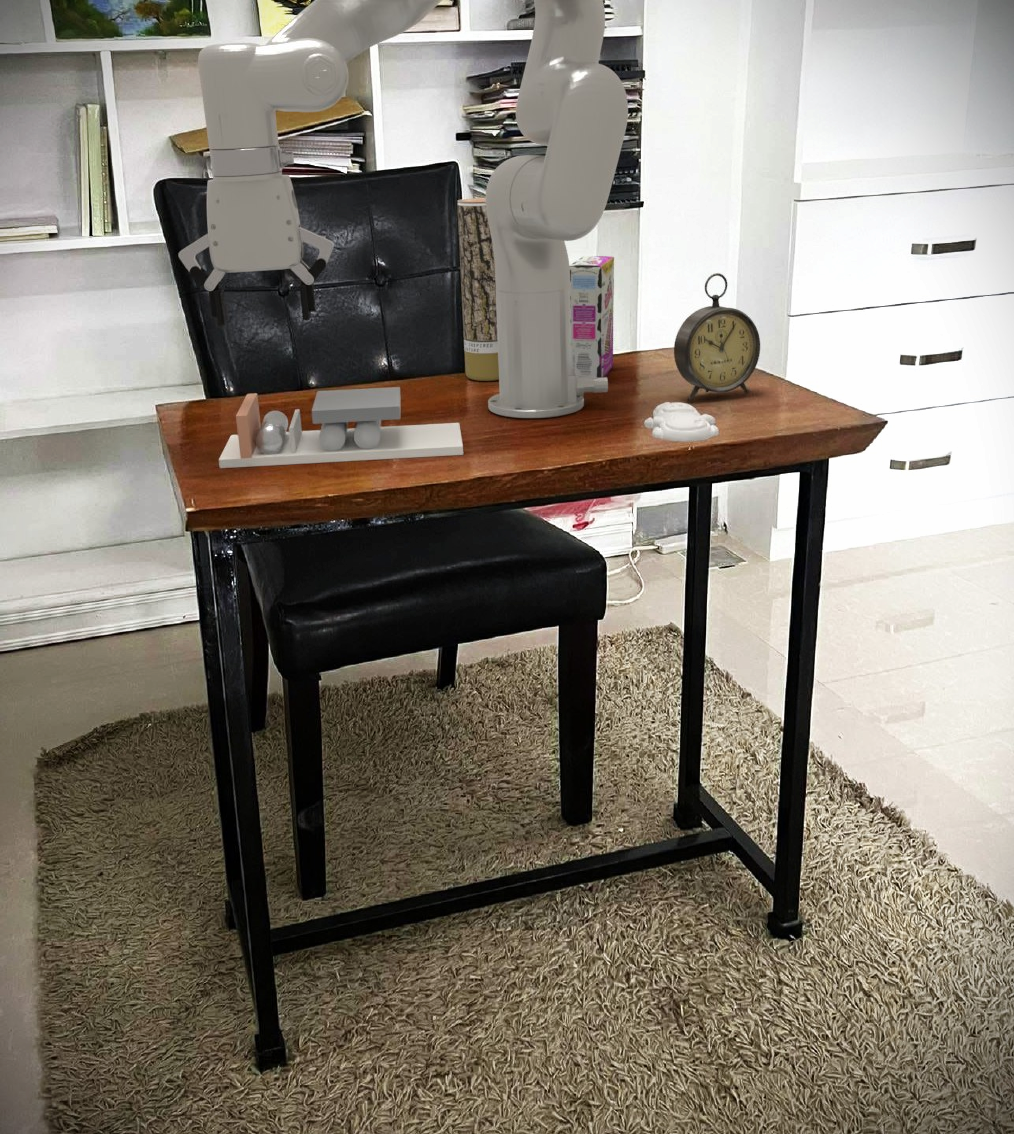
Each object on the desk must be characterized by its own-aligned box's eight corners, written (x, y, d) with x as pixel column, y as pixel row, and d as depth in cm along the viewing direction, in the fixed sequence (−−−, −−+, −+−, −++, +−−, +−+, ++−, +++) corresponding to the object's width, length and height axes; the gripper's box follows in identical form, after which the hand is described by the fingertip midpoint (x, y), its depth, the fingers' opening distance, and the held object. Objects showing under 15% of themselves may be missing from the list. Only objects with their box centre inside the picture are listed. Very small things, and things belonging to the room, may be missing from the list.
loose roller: (290, 432, 153) (285, 408, 152) (284, 452, 145) (278, 427, 144) (266, 436, 153) (260, 413, 152) (259, 456, 145) (253, 432, 144)
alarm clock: (686, 405, 163) (688, 279, 158) (668, 397, 168) (669, 274, 162) (760, 396, 167) (765, 272, 161) (740, 388, 172) (743, 267, 166)
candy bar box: (602, 384, 177) (602, 265, 171) (568, 383, 178) (566, 265, 172) (615, 367, 187) (615, 254, 181) (582, 366, 188) (581, 254, 182)
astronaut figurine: (712, 418, 158) (713, 395, 157) (721, 444, 147) (722, 419, 146) (642, 419, 159) (643, 396, 158) (646, 445, 148) (646, 420, 147)
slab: (400, 398, 153) (399, 386, 153) (400, 419, 144) (399, 406, 143) (318, 403, 153) (317, 391, 152) (312, 423, 143) (311, 411, 143)
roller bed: (459, 430, 156) (457, 383, 154) (463, 454, 146) (460, 404, 143) (232, 442, 154) (226, 395, 152) (219, 468, 144) (213, 417, 142)
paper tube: (506, 382, 180) (500, 201, 171) (460, 382, 181) (452, 202, 172) (516, 372, 186) (510, 197, 177) (471, 372, 187) (463, 198, 178)
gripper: (327, 158, 142) (342, 310, 148) (172, 167, 141) (194, 320, 147) (323, 162, 135) (339, 322, 141) (160, 172, 134) (183, 332, 140)
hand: (265, 321), depth 144 cm, fingers open, 9 cm apart
